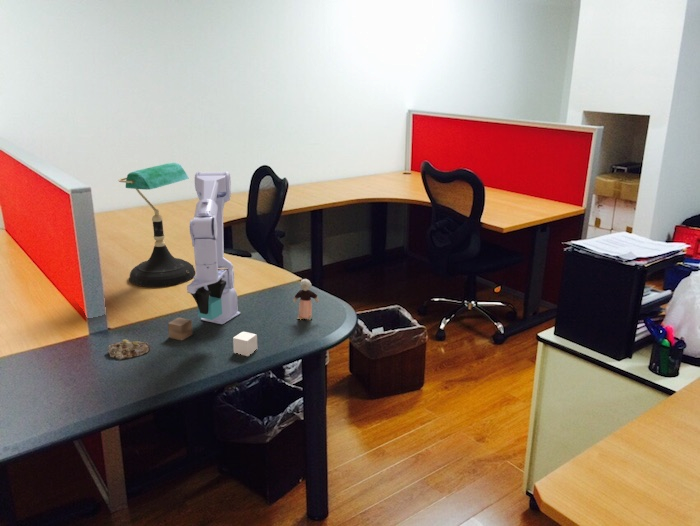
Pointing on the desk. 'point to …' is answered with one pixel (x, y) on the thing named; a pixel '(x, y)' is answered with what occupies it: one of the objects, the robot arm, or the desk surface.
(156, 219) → the banker's lamp
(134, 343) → the mineral rock
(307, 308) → the grandmother figurine
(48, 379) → the desk surface
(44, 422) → the desk surface
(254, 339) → the white block
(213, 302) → the teal block
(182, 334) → the walnut block
